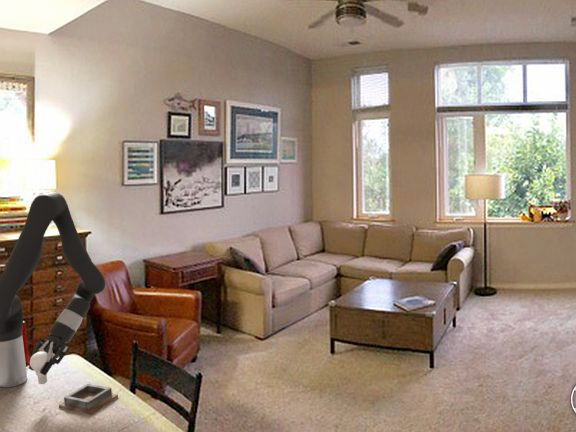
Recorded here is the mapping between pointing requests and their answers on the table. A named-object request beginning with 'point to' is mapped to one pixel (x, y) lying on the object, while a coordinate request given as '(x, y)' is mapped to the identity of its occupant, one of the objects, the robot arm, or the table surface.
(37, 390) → the table surface
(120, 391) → the table surface
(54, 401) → the table surface
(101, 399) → the bulb stand
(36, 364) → the lightbulb
